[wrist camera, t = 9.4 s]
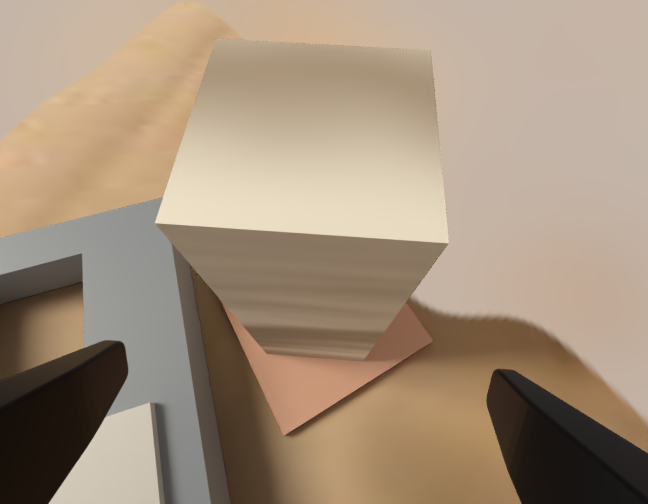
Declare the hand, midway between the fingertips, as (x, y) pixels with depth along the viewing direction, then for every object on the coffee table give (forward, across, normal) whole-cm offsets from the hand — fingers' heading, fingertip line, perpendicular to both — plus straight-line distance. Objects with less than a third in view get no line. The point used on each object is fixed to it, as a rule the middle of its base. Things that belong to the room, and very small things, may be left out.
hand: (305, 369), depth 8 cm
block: (+8, 0, +3) cm, 9 cm away
